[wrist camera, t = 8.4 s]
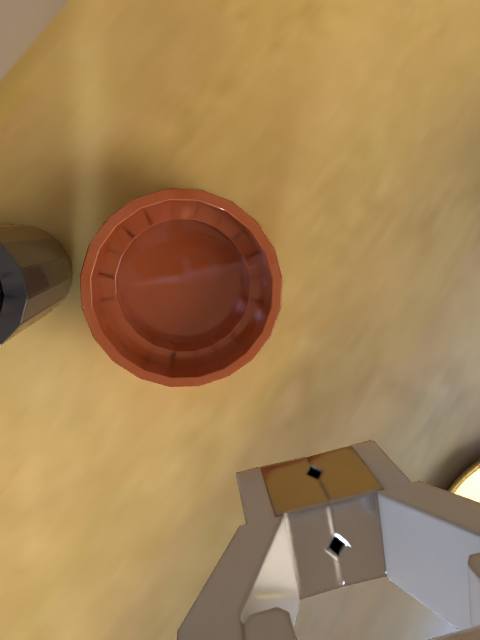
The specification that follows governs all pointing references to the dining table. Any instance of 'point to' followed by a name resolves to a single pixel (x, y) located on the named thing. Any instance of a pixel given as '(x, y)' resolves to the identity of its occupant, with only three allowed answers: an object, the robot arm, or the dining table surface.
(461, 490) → the serving platter
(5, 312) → the utensil pot
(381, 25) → the dining table surface
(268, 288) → the bowl
